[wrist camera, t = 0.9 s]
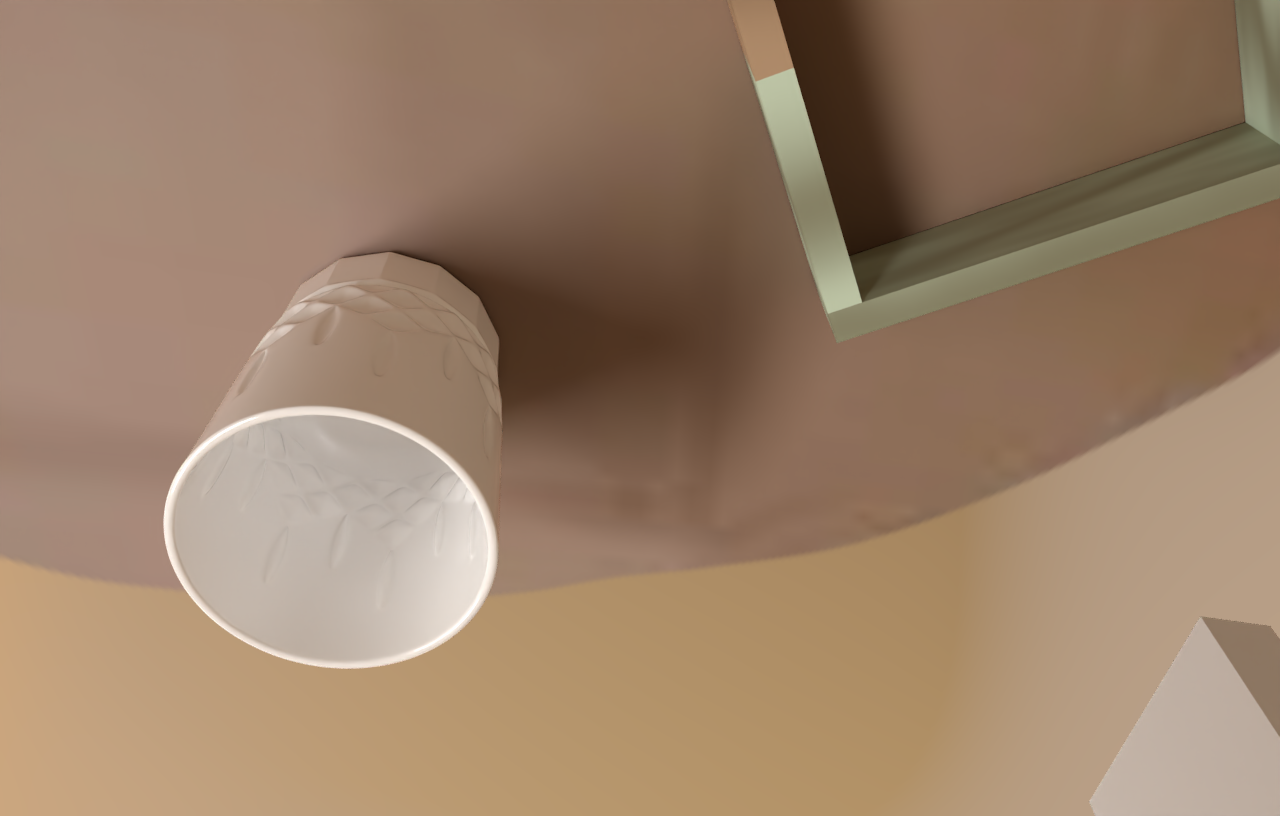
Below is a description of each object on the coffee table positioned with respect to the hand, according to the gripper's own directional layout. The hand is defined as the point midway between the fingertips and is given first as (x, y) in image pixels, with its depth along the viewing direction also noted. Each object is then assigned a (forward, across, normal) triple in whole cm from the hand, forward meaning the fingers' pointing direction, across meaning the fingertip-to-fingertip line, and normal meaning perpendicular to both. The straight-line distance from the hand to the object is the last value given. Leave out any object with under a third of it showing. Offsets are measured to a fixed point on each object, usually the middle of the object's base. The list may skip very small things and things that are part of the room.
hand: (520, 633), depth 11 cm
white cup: (+24, -3, -11) cm, 27 cm away
